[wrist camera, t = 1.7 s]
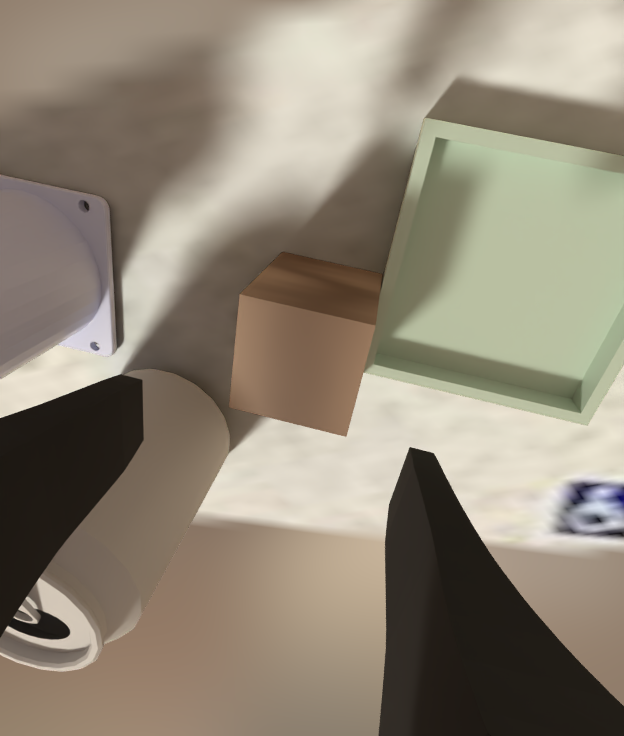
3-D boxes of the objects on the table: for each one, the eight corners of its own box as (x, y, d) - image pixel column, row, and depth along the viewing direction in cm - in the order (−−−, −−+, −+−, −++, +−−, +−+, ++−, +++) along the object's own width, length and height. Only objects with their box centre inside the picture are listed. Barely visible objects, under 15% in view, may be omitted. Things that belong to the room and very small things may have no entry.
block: (270, 341, 22) (228, 407, 17) (282, 251, 20) (239, 294, 14) (359, 363, 21) (346, 436, 16) (382, 273, 19) (375, 325, 14)
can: (125, 464, 27) (-44, 667, 17) (96, 356, 24) (-139, 527, 14) (241, 478, 26) (135, 705, 16) (228, 366, 23) (82, 562, 12)
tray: (362, 355, 21) (359, 371, 20) (423, 119, 16) (425, 117, 15) (574, 405, 20) (587, 425, 19) (704, 173, 16) (734, 177, 14)
